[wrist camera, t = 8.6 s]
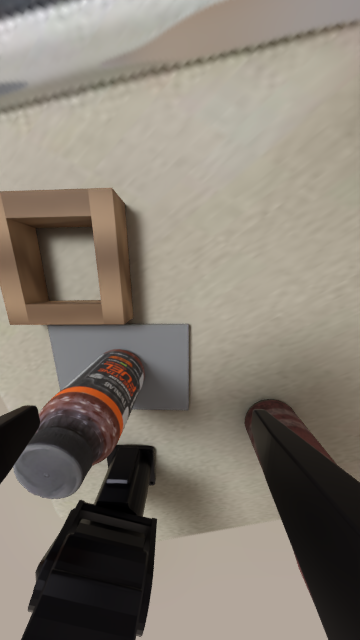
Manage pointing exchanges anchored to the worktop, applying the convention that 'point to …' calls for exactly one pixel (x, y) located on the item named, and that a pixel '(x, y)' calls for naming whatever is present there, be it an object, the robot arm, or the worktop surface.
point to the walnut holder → (26, 265)
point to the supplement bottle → (81, 425)
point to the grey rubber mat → (140, 339)
